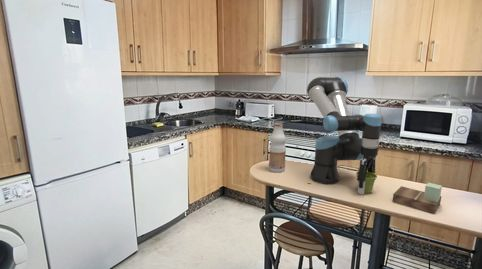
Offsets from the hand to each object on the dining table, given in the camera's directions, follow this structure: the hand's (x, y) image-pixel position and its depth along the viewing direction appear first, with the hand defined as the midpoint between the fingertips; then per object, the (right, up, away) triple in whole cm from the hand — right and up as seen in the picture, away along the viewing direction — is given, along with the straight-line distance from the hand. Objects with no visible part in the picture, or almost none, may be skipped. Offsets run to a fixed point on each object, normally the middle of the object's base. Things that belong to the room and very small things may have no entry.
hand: (364, 190), depth 138 cm
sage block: (+21, 0, -17) cm, 27 cm away
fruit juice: (-40, +6, +29) cm, 49 cm away
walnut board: (+17, -3, -13) cm, 22 cm away
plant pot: (0, 0, 0) cm, 0 cm away
